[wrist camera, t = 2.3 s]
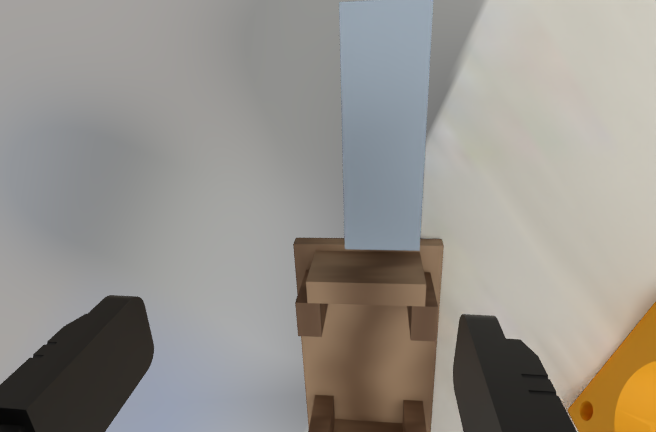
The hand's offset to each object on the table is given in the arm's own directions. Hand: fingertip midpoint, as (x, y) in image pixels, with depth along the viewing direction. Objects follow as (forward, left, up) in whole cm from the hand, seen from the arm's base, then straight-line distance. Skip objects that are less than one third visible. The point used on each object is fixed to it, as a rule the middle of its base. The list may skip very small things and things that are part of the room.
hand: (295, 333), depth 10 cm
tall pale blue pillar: (-2, -2, -18) cm, 18 cm away
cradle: (-1, +15, -17) cm, 23 cm away
